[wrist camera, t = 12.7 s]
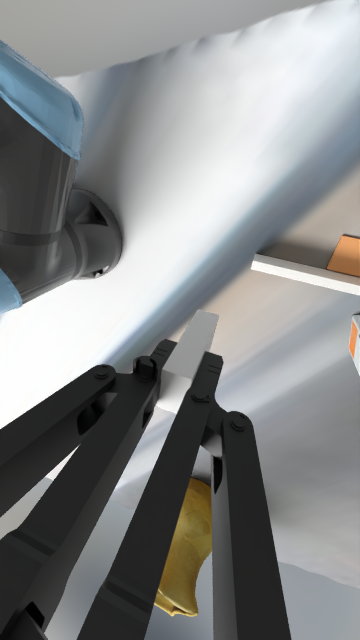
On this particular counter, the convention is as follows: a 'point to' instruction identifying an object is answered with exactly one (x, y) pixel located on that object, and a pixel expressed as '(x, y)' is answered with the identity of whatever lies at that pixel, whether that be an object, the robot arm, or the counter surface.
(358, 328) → the skincare box
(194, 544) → the pitcher
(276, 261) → the track
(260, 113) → the counter surface
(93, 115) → the counter surface
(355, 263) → the trap pits
